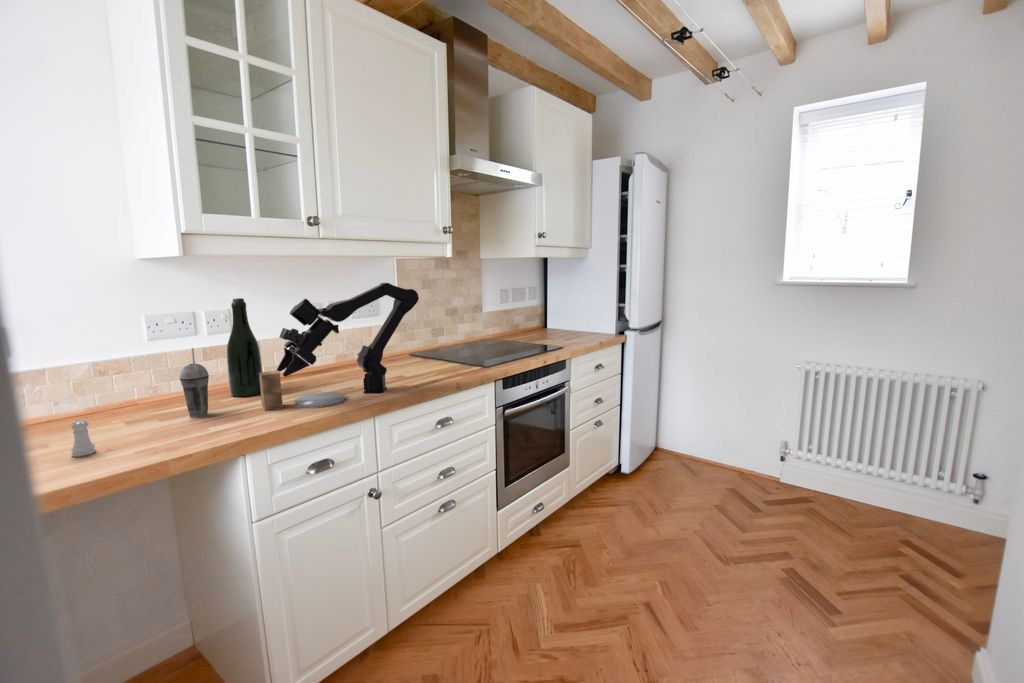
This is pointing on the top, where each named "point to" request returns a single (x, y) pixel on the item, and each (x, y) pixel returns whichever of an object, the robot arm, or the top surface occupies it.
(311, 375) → the top surface
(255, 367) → the beer bottle
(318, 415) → the top surface
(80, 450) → the rook chess piece
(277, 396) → the walnut block
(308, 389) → the top surface
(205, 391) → the beverage cup
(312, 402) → the slate dish
